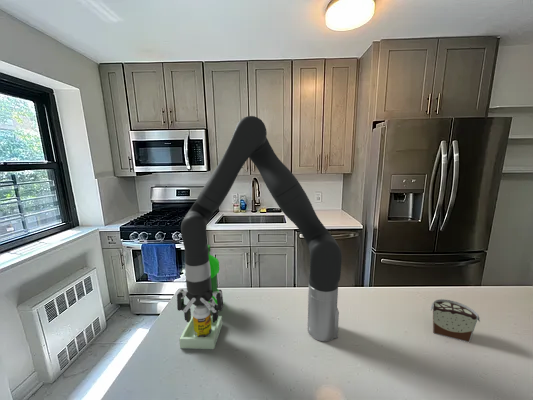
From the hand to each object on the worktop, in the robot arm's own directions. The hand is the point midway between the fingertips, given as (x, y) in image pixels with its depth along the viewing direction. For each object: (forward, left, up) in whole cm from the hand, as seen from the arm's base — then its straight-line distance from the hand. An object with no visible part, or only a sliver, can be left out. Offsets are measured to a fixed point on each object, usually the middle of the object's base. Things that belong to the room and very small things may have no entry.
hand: (201, 320), depth 74 cm
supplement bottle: (0, 0, -5) cm, 5 cm away
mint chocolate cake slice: (-81, -4, -6) cm, 82 cm away
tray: (0, 0, -6) cm, 6 cm away
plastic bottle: (+3, -15, -6) cm, 16 cm away
